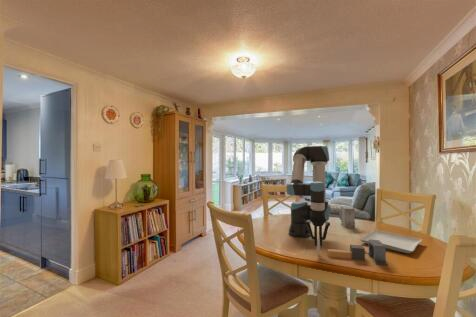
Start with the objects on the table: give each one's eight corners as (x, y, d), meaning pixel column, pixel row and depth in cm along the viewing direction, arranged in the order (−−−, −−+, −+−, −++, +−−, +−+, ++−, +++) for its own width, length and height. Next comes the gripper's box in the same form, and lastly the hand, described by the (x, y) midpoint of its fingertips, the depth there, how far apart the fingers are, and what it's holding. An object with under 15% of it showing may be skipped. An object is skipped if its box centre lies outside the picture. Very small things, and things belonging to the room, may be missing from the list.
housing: (376, 264, 114) (376, 247, 114) (367, 253, 127) (367, 238, 127) (387, 265, 113) (387, 247, 113) (377, 254, 126) (377, 238, 126)
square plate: (374, 234, 161) (374, 229, 161) (423, 245, 140) (423, 238, 140) (359, 244, 143) (359, 238, 143) (413, 257, 122) (412, 250, 122)
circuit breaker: (348, 222, 190) (347, 205, 190) (355, 227, 176) (354, 208, 176) (338, 222, 191) (338, 205, 191) (345, 227, 177) (344, 208, 177)
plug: (328, 257, 123) (328, 246, 123) (327, 253, 128) (327, 243, 128) (368, 260, 119) (367, 248, 119) (365, 256, 124) (364, 245, 124)
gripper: (306, 210, 125) (306, 253, 125) (331, 211, 122) (332, 255, 122) (305, 207, 132) (305, 248, 132) (328, 208, 129) (329, 250, 129)
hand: (318, 251), depth 127 cm, fingers closed
